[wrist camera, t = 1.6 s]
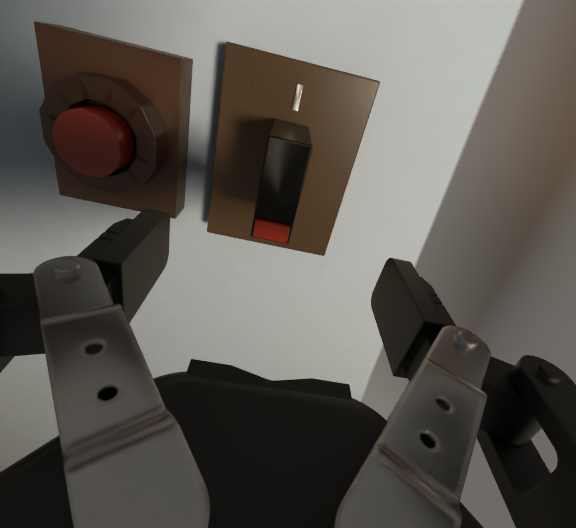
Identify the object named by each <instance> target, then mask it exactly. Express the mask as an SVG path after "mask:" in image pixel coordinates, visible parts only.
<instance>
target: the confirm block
mask: <svg viewBox="0 0 576 528" xmlns="http://www.w3.org/2000/svg"><path fill="white" fill-rule="evenodd" d="M34 25H35V32H36V39H37V46H38V52H39V59H40V66H41V73H42V79H43V86H44V93H45V99H44V101H43V103H42V106H41V108H40V117H41V123H42V130H43V136H44V141H45V144H46V145H47V147H48V148H49V150H50V151H51V153H52V154H53V156H54V160H55V167H56V173H57V180H58V187H59V194H60V195H63V196H68V197H73V198H78V199H82V200H87V201H92V202H97V203H102V204H107V205H111V206H116V207H121V208H126V209H131V210H136V211H141V212H142V211H143V210H144V209H145V208H149V209H154V210H158V211H163V212H168V213H169V216H170V218H174V219H175V218H176V217H177V216H178V214H179V213H180V212H181V211H182V209H183V208H184V201H185V184H186V167H187V150H188V133H189V116H190V99H191V81H192V64H193V59H190V58H186V57H182V56H178V55H174V54H171V53H167V52H163V51H159V50H155V49H151V48H147V47H143V46H139V45H135V44H131V43H127V42H123V41H119V40H115V39H111V38H107V37H103V36H99V35H95V34H91V33H87V32H84V31H80V30H76V29H72V28H68V27H64V26H60V25H54V24H48V23H42V22H34ZM88 105H98V106H102V107H105V108H108V109H110V110H111V111H113V112H114V113H116V114H117V115H118V116H119V117H120V118H121V119H122V120H123V121H124V122H125V123H126V125H127V126H128V128H129V130H130V132H131V135H132V138H133V144H134V148H133V154H132V157H131V159H130V160H129V162H128V163H127V164H126V165H124V166H123V167H121V168H119V169H118V170H116V171H114V172H113V173H111V174H109V175H107V176H103V177H92V176H88V175H85V174H82V173H80V172H78V171H77V170H75V169H73V168H72V167H71V166H70V165H69V164H68V163H67V162H66V161H65V160H64V159H63V158H62V156H61V155H60V154H59V152H58V150H57V148H56V146H55V143H54V138H53V127H54V123H55V121H56V119H57V117H58V116H59V115H60V114H61V113H63V112H64V111H66V110H69V109H73V108H78V107H83V106H88Z"/></svg>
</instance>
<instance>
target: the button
mask: <svg viewBox="0 0 576 528" xmlns="http://www.w3.org/2000/svg"><path fill="white" fill-rule="evenodd" d="M53 138H54V143H55V146H56V148H57V150H58V152H59V154H60V155H61V156H62V158H63V159H64V160H65V161H66V162H67V163H68V164H69V165H70V166H71V167H72V168H73V169H75V170H77V171H78V172H80V173H82V174H85V175H88V176H92V177H103V176H107V175H109V174H111V173H113V172H114V171H116V170H118V169H119V168H121V167H123V166H124V165H126V164H127V163H128V162H129V160H130V159H131V157H132V154H133V148H134V144H133V138H132V135H131V132H130V130H129V128H128V126H127V125H126V123H125V122H124V121H123V120H122V119H121V118H120V117H119V116H118V115H117V114H116V113H114V112H113V111H111V110H110V109H108V108H105V107H102V106H98V105H88V106H83V107H78V108H73V109H69V110H66V111H64V112H63V113H61V114H60V115H59V116H58V117H57V119H56V121H55V123H54V127H53Z"/></svg>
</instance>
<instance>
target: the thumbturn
mask: <svg viewBox="0 0 576 528" xmlns="http://www.w3.org/2000/svg"><path fill="white" fill-rule="evenodd" d="M312 149H313V144H312V139H311V134H310V129H309V127H308V126H304V125H300V124H296V123H292V122H288V121H283V120H279V119H275V120H274V122H273V125H272V127H271V130H270V132H269V135H268V139H267V144H266V150H265V156H264V161H263V167H262V172H261V178H260V184H259V189H258V195H257V200H256V206H255V211H254V217H253V223H252V228H251V234H250V236H251V237H255V238H260V239H265V240H270V241H275V242H279V243H284V244H288V243H289V241H290V237H291V233H292V229H293V225H294V221H295V217H296V213H297V209H298V205H299V201H300V197H301V193H302V189H303V185H304V181H305V177H306V173H307V169H308V165H309V161H310V157H311V153H312Z"/></svg>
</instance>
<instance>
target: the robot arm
mask: <svg viewBox="0 0 576 528" xmlns="http://www.w3.org/2000/svg"><path fill="white" fill-rule="evenodd" d="M169 232H170V216H169V213H168V212H163V211H158V210H154V209H149V208H145V209H144V210H143V211H142V212H141V213H140V214H138V215H137V216H136V217H135V218H134V219H128V218H127V219H125V220H122V221H119V222H117V223H114V224H113V225H112V226H110V227H109V228H108V229H107V230H106V232H104V233H103V234H101V235H100V236H99V238H98V239H96V240H95V241H93V242H92V243H91V244H90V245H89V246H88V247H87V248H85V249H84V250H83V251H82V252H81V253H80V254H79V255H77V256H64V257H58V258H54V259H50V260H48V261H45V262H43V263H42V264H40V265H39V266H37V267H36V269H35V270H34V272H33V273H29V274H0V373H1V371H2V370H3V369H4V368H5V367H6V366H7V364H8V363H9V362H10V361H11V360H12V359H13V357H14V356H20V355H32V354H44V353H45V354H46V360H47V366H48V372H49V378H50V384H51V390H52V396H53V401H54V407H55V413H56V419H57V425H58V431H59V436H57V437H55V438H54V439H52V440H51V441H49V442H47V443H46V444H44V445H43V446H41V447H40V448H38V449H36V450H35V451H33V452H32V453H30V454H28V455H27V456H25V457H24V458H22V459H20V460H19V461H17V462H16V463H14V464H13V465H11V466H9V467H8V468H6V469H5V470H3V471H1V472H0V528H483V527H482V525H481V524H480V523H479V522H478V521H477V520H476V519H475V518H474V517H473V515H472V514H471V513H470V512H469V511H468V510H467V509H466V508H465V507H464V505H463V504H462V503H461V502H460V498H461V494H462V490H463V486H464V483H465V479H466V475H467V471H468V467H469V464H470V460H471V456H472V452H473V448H474V445H475V441H476V437H477V439H478V441H479V444H480V446H481V448H482V451H483V453H484V455H485V457H486V460H487V462H488V464H489V467H490V469H491V471H492V474H493V476H494V478H495V481H496V483H497V485H498V487H499V489H500V492H501V494H502V496H503V499H504V501H505V503H506V506H507V508H508V510H509V512H510V515H511V517H512V520H513V522H514V524H515V526H516V528H576V385H575V384H574V382H573V381H572V380H571V379H570V378H569V377H568V376H567V375H566V374H565V373H564V372H563V371H561V370H560V369H559V368H558V367H556V366H554V365H553V364H551V363H549V362H548V361H546V360H544V359H541V358H538V357H535V356H530V355H526V356H523V357H522V358H521V359H520V360H519V361H518V362H517V364H516V365H515V366H514V365H511V364H508V363H506V362H504V361H501V360H499V359H496V358H494V357H491V353H490V350H489V348H488V346H487V345H486V344H485V343H484V342H483V341H482V340H481V339H480V338H479V337H478V336H476V335H475V334H473V333H472V332H470V331H468V330H466V329H464V328H461V327H457V326H456V325H455V323H454V321H453V320H452V318H451V317H450V315H449V313H448V312H447V310H446V309H445V307H444V306H443V305H442V302H441V301H440V299H439V298H438V297H437V294H436V293H435V291H434V289H433V288H432V286H431V285H430V284H429V283H427V282H426V281H425V280H424V279H423V278H422V277H419V275H418V273H417V272H416V270H415V268H414V267H413V265H412V263H411V262H409V261H404V260H399V259H394V258H389V259H388V260H387V261H386V263H385V265H384V267H383V270H382V272H381V274H380V277H379V279H378V281H377V284H376V286H375V288H374V291H373V294H372V298H371V307H372V310H373V314H374V317H375V320H376V323H377V326H378V329H379V332H380V336H381V339H382V342H383V345H384V348H385V351H386V354H387V358H388V361H389V363H390V367H391V370H392V373H393V376H396V377H402V378H408V380H409V383H408V385H407V387H406V388H405V390H404V392H403V393H402V395H401V397H400V398H399V400H398V402H397V403H396V405H395V407H394V409H393V410H392V412H391V413H390V415H389V417H388V419H387V420H385V419H384V418H383V417H382V416H381V415H379V414H378V413H377V412H376V411H374V410H373V409H371V408H370V407H368V406H367V405H365V404H363V403H361V402H359V401H358V400H355V399H353V398H351V392H350V386H349V384H343V383H337V382H331V381H324V380H318V379H312V378H311V379H296V380H280V381H271V380H267V379H265V378H262V377H260V376H257V375H255V374H252V373H249V372H247V371H244V370H242V369H239V368H237V367H234V366H231V365H225V364H219V363H213V362H207V361H200V360H194V359H191V361H190V364H189V367H188V370H187V372H177V373H171V374H167V375H163V376H159V377H157V378H154V379H153V377H152V375H151V373H150V370H149V368H148V366H147V363H146V361H145V359H144V356H143V354H142V352H141V350H140V347H139V345H138V343H137V340H136V338H135V336H134V333H133V331H132V329H131V326H130V324H129V323H130V322H131V320H132V318H133V317H134V315H135V314H136V312H137V311H138V309H139V307H140V306H141V304H142V303H143V301H144V300H145V298H146V297H147V295H148V293H149V292H150V290H151V289H152V287H153V286H154V284H155V282H156V281H157V279H158V278H159V276H160V275H161V273H162V271H163V270H164V268H165V266H166V264H167V260H168V255H169ZM540 429H543V430H544V432H545V433H546V435H547V437H548V438H549V440H550V441H551V443H552V445H553V446H554V448H555V450H556V453H557V457H558V463H557V467H556V469H555V470H554V471H553V472H552V473H550V472H549V470H548V468H547V467H546V465H545V463H544V461H543V460H542V458H541V456H540V454H539V453H538V451H537V449H536V448H535V446H534V444H533V442H532V441H531V438H532V437H533V436H534V435H535V434H536V433H537V432H538V431H539V430H540Z"/></svg>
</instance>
